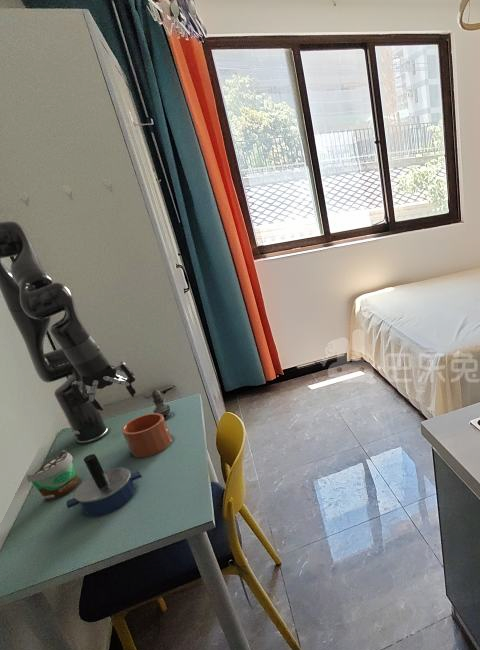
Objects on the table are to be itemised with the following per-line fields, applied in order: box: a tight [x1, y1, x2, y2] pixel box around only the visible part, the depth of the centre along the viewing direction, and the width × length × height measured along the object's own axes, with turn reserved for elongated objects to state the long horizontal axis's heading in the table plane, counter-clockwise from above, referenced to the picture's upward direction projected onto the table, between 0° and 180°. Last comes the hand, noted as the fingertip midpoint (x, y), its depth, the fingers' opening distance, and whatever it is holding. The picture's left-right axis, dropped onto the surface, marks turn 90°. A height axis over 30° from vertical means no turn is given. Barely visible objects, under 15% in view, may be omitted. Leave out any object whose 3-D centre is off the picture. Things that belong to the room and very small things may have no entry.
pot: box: [121, 412, 173, 458], centre depth 146 cm, size 12×12×9 cm
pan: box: [66, 470, 142, 517], centre depth 124 cm, size 13×18×5 cm
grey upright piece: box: [151, 388, 174, 421], centre depth 162 cm, size 6×6×12 cm
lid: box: [73, 453, 132, 503], centre depth 121 cm, size 14×14×10 cm
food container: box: [26, 449, 80, 501], centre depth 129 cm, size 12×6×10 cm, turn 168°
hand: (118, 402), depth 128 cm, fingers open, 8 cm apart
